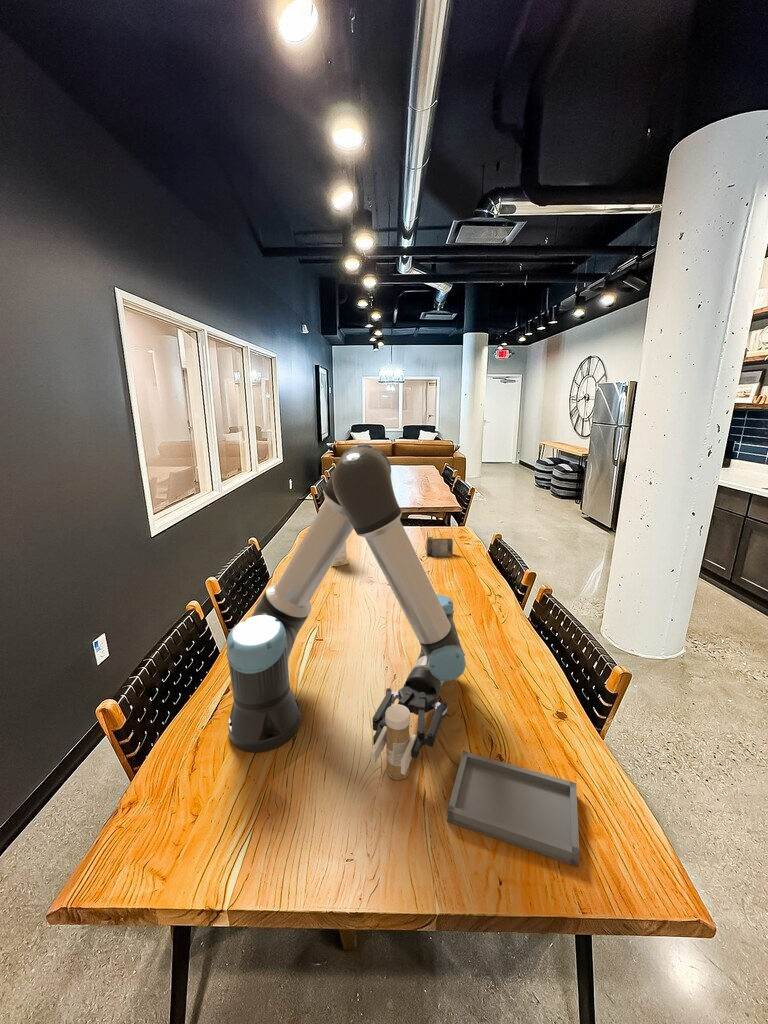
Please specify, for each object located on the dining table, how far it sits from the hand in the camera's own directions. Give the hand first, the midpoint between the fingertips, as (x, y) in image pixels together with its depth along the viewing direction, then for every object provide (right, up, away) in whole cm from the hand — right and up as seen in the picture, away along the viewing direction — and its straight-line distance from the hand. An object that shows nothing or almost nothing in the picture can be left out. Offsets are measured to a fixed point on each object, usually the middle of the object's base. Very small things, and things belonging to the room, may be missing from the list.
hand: (387, 763), depth 75 cm
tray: (+22, -7, -1) cm, 23 cm away
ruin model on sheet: (+24, +24, +114) cm, 119 cm away
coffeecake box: (-22, +23, +110) cm, 115 cm away
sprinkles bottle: (+2, -6, +7) cm, 9 cm away
